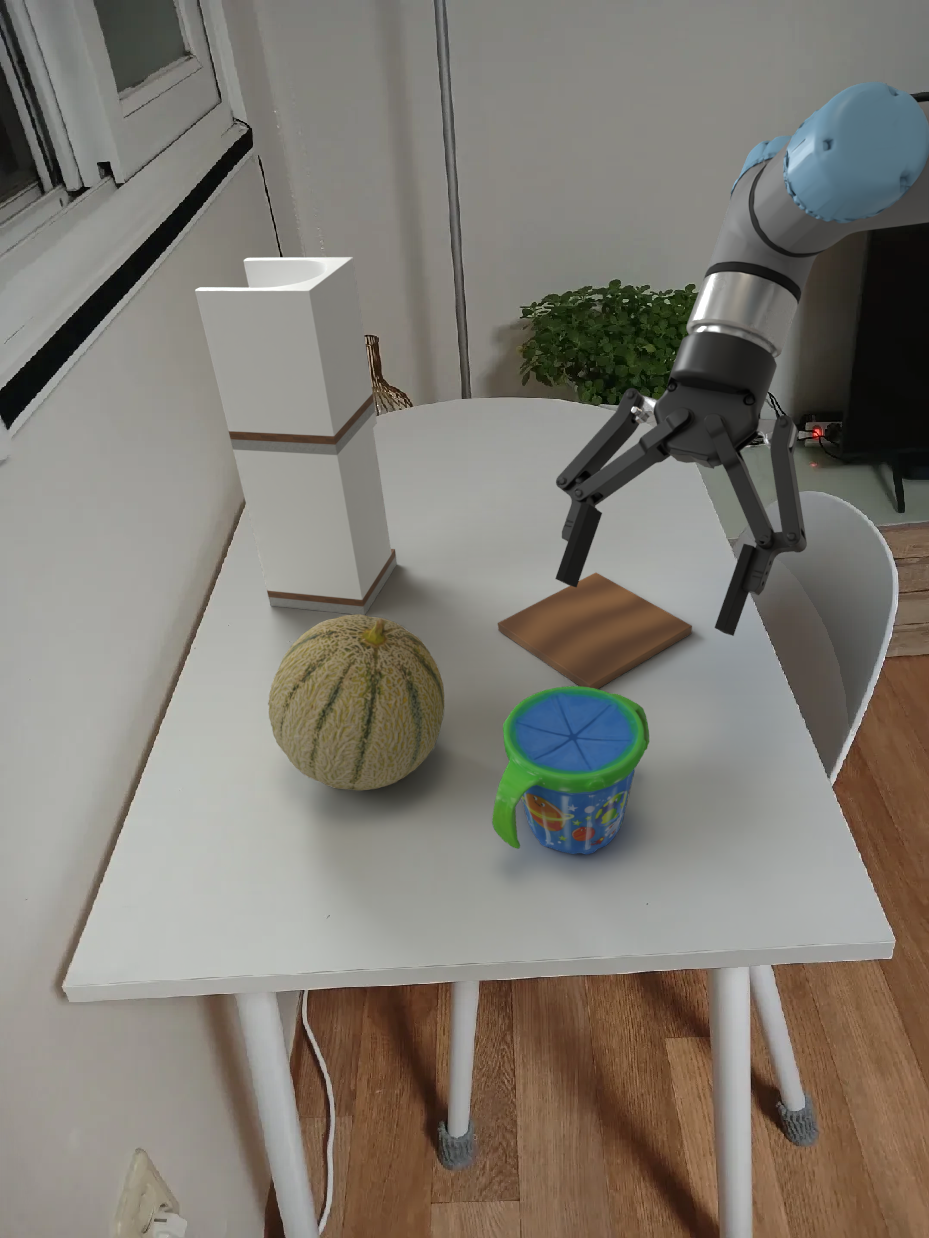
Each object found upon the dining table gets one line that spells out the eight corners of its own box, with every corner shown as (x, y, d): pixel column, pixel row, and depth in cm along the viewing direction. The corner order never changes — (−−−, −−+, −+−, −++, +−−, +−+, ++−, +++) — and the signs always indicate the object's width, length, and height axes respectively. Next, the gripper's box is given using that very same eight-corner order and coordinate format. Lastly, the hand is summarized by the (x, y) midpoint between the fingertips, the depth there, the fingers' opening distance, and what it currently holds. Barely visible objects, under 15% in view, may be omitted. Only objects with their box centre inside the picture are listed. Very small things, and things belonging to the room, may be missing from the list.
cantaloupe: (261, 753, 87) (224, 619, 78) (401, 690, 93) (381, 559, 84) (331, 855, 76) (297, 713, 68) (484, 776, 82) (471, 637, 74)
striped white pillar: (397, 564, 112) (353, 257, 92) (364, 615, 104) (308, 291, 84) (308, 556, 115) (247, 258, 95) (270, 605, 107) (194, 290, 87)
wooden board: (691, 633, 96) (692, 625, 96) (590, 693, 90) (590, 685, 90) (595, 579, 106) (595, 571, 105) (497, 630, 100) (497, 622, 99)
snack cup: (602, 745, 84) (602, 653, 78) (691, 813, 77) (699, 718, 71) (459, 831, 77) (447, 738, 72) (541, 914, 70) (536, 819, 64)
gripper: (903, 391, 71) (809, 661, 71) (606, 345, 84) (527, 574, 84) (892, 350, 64) (789, 648, 64) (572, 308, 77) (487, 556, 77)
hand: (641, 607), depth 74 cm, fingers open, 13 cm apart
